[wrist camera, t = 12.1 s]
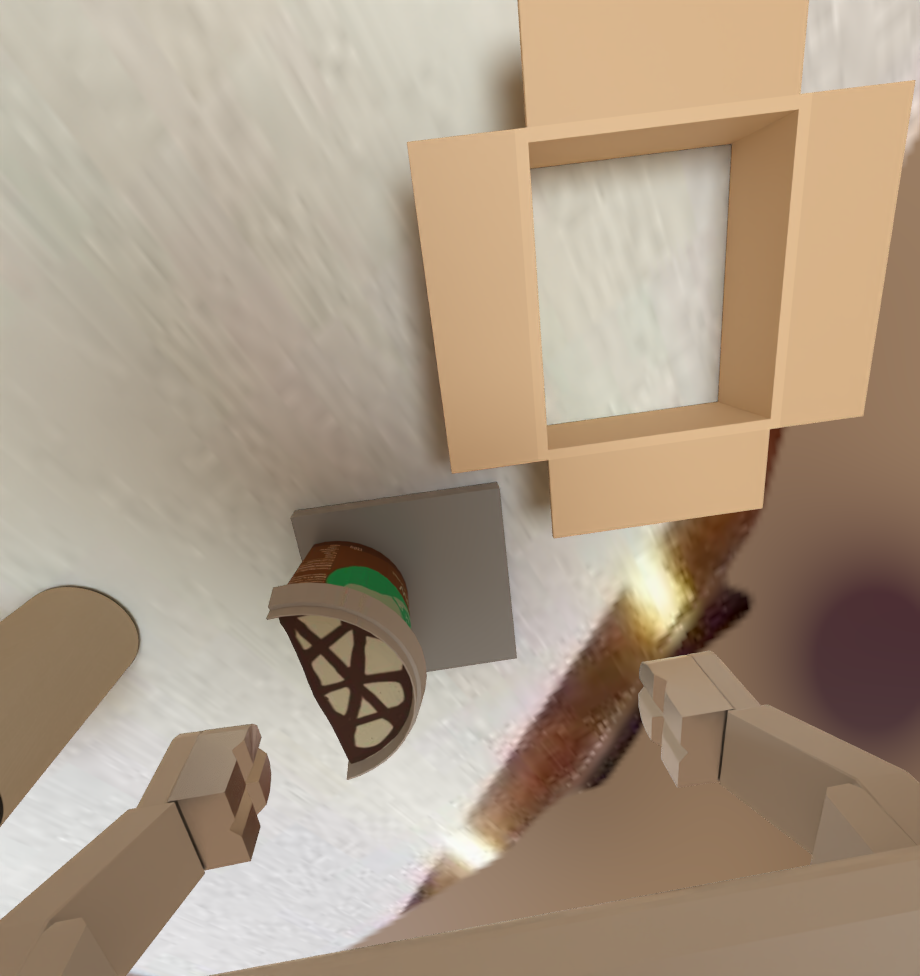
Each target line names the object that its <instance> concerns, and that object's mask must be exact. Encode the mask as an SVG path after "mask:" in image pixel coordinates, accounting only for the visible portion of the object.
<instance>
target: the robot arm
mask: <svg viewBox="0 0 920 976" xmlns="http://www.w3.org/2000/svg"><path fill="white" fill-rule="evenodd" d="M639 678H640V680H641V681H642V683H643V685H644V688H643V689H642V690H641V692H640V693H639V710H640V715H641V719H642V722H643V725H644V727H645V730H646V732H647V734H648V736H649V737H650V739H651V741H653V742H655V743H656V744H658V745H659V746H661V747H662V753H661V759H662V761H663V763H664V765H665V766H666V768H667V770H668V771H669V773H670V775H671V777H672V779H673V781H674V782H675V784H676V786H677V787H678V788H679V787H685V786H692V785H700V784H707V783H714V782H720V785H721V786H723V787H724V788H726V789H727V790H728V791H729V792H731V793H732V794H734V795H735V796H736V797H737V798H738V799H740V800H741V801H743V802H744V803H745V804H746V805H748V806H749V807H751V808H752V809H753V810H754V811H756V812H757V813H758V814H759V815H761V816H762V817H763V818H765V819H766V820H767V821H769V822H770V823H771V824H773V825H774V826H775V827H776V828H778V829H779V830H781V831H782V832H783V833H784V834H786V835H787V836H788V837H790V838H791V839H792V840H793V841H795V842H796V843H797V844H799V845H800V846H801V847H803V848H804V849H805V850H807V851H808V852H809V853H811V854H812V860H811V864H810V865H808V866H802V867H797V868H792V869H787V870H781V871H776V872H770V873H764V874H759V875H753V876H748V877H742V878H737V879H732V880H726V881H721V882H715V883H710V884H705V885H699V886H693V887H688V888H683V889H678V890H672V891H667V892H661V893H656V894H651V895H645V896H639V897H634V898H629V899H624V900H618V901H612V902H607V903H602V904H597V905H591V906H585V907H580V908H575V909H570V910H564V911H559V912H553V913H548V914H542V915H538V916H532V917H526V918H521V919H515V920H510V921H505V922H499V923H493V924H488V925H482V926H477V927H471V928H466V929H461V930H455V931H449V932H444V933H438V934H433V935H427V936H422V937H417V938H412V939H405V940H400V941H394V942H389V943H384V944H378V945H372V946H367V947H362V948H356V949H351V950H345V951H340V952H334V953H329V954H323V955H318V956H313V957H307V958H302V959H296V960H291V961H285V962H280V963H274V964H269V965H263V966H258V967H253V968H247V969H242V970H236V971H231V972H225V973H220V974H214V975H209V976H920V783H919V782H917V780H915V779H914V778H913V777H912V776H911V775H910V774H909V773H908V772H907V771H905V770H903V769H901V768H898V767H897V766H894V765H892V764H890V763H888V762H886V761H884V760H882V759H880V758H878V757H876V756H874V755H872V754H870V753H867V752H865V751H863V750H861V749H859V748H857V747H855V746H853V745H851V744H849V743H846V742H845V741H842V740H840V739H838V738H836V737H834V736H832V735H830V734H828V733H826V732H824V731H822V730H820V729H818V728H816V727H813V726H811V725H809V724H807V723H805V722H803V721H801V720H799V719H797V718H795V717H793V716H791V715H788V714H786V713H784V712H782V711H780V710H778V709H776V708H774V707H771V706H770V705H762V706H761V705H760V704H759V703H758V702H757V701H756V699H755V698H754V697H753V696H752V695H751V694H750V693H749V692H748V690H747V689H746V688H745V687H744V686H743V685H742V684H741V682H740V681H739V680H738V679H737V678H736V677H735V676H734V675H733V673H732V672H731V671H730V670H729V669H728V668H727V667H726V665H725V664H724V663H723V662H722V661H721V660H720V659H719V657H718V656H717V655H716V654H715V653H713V652H711V651H705V652H699V653H694V654H688V655H683V656H677V657H671V658H665V659H659V660H653V661H647V662H642V663H641V666H640V670H639ZM261 738H262V737H261V734H260V732H259V729H258V727H257V725H255V724H247V725H239V726H232V727H224V728H217V729H209V730H204V731H199V732H191V733H183V734H179V735H178V736H176V737H175V738H174V739H173V740H172V742H171V744H170V746H169V747H168V749H167V751H166V753H165V755H164V757H163V759H162V761H161V763H160V764H159V766H158V768H157V770H156V772H155V774H154V776H153V778H152V780H151V781H150V783H149V785H148V787H147V789H146V791H145V793H144V795H143V797H142V798H141V800H140V802H139V804H138V806H137V808H134V809H129V810H127V811H126V812H125V813H124V814H123V815H121V816H120V817H119V818H118V819H117V820H116V821H115V822H113V823H112V824H111V825H110V826H109V827H108V828H106V829H105V830H104V831H103V832H102V833H101V834H99V835H98V836H97V837H96V838H95V839H94V840H92V841H91V842H90V843H89V844H88V845H87V846H86V847H84V848H83V849H82V850H81V851H80V852H79V853H77V854H76V855H75V856H74V857H73V858H72V859H70V860H69V861H68V862H67V863H66V864H65V865H64V866H62V867H61V868H60V869H59V870H58V871H57V872H55V873H54V874H53V875H52V876H51V877H50V878H48V879H47V880H46V881H45V882H44V883H43V884H41V885H40V886H39V887H38V888H37V889H36V890H35V891H33V892H32V893H31V894H30V895H29V896H28V897H26V898H25V899H24V900H23V901H22V902H21V903H19V904H18V905H17V906H16V907H15V908H14V909H13V910H11V911H10V912H9V913H8V914H7V915H6V916H4V917H3V918H2V919H1V920H0V976H126V975H127V974H128V973H129V971H130V970H131V969H132V967H133V966H134V965H135V963H136V962H137V961H138V960H139V958H140V957H141V956H142V954H143V953H144V952H145V950H146V949H147V948H148V947H149V945H150V944H151V943H152V941H153V940H154V939H155V937H156V936H157V935H158V934H159V932H160V931H161V930H162V928H163V927H164V926H165V924H166V923H167V922H168V921H169V919H170V918H171V917H172V915H173V914H174V913H175V911H176V910H177V909H178V908H179V906H180V905H181V904H182V902H183V901H184V900H185V899H186V897H187V896H188V895H189V893H190V892H191V891H192V889H193V888H194V887H195V886H196V884H197V883H198V882H199V880H200V879H201V878H202V876H203V875H204V874H205V871H204V870H209V869H214V868H219V867H224V866H229V865H234V864H238V863H243V862H248V861H251V859H252V855H253V852H254V848H255V844H256V841H257V837H258V834H259V830H260V823H259V820H258V817H257V814H258V813H259V812H260V811H261V810H262V809H263V808H264V807H265V805H266V804H267V800H268V797H269V793H270V784H271V769H270V762H269V759H268V756H267V753H265V752H264V751H262V750H261V749H259V748H258V747H259V744H260V741H261Z"/></svg>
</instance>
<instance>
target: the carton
mask: <svg viewBox="0 0 920 976" xmlns="http://www.w3.org/2000/svg"><path fill="white" fill-rule="evenodd" d="M808 5H809V0H518V15H519V31H520V46H521V61H522V76H523V92H524V107H525V122H526V128H519V129H510V130H502V131H494V132H486V133H478V134H469V135H461V136H453V137H445V138H437V139H428V140H420V141H412V142H407V147H408V154H409V161H410V169H411V176H412V184H413V191H414V198H415V206H416V213H417V220H418V228H419V235H420V243H421V250H422V257H423V265H424V272H425V279H426V287H427V294H428V302H429V309H430V316H431V324H432V331H433V338H434V346H435V353H436V361H437V368H438V375H439V383H440V390H441V397H442V405H443V412H444V420H445V427H446V434H447V442H448V449H449V456H450V464H451V471H452V474H454V473H461V472H468V471H475V470H482V469H490V468H497V467H504V466H511V465H518V464H525V463H532V462H539V461H546V460H548V473H549V488H550V503H551V518H552V533H553V538H560V537H567V536H574V535H581V534H588V533H595V532H602V531H608V530H615V529H622V528H629V527H636V526H643V525H650V524H657V523H663V522H670V521H677V520H684V519H691V518H698V517H705V516H712V515H719V514H725V513H732V512H739V511H746V510H753V509H760V508H763V497H764V486H765V475H766V464H767V453H768V442H769V431H770V429H774V428H781V427H788V426H794V425H802V424H809V423H816V422H823V421H830V420H837V419H845V418H851V417H859V416H863V413H864V407H865V400H866V394H867V388H868V381H869V374H870V369H871V362H872V356H873V348H874V343H875V337H876V330H877V323H878V317H879V311H880V304H881V297H882V291H883V285H884V279H885V272H886V266H887V259H888V253H889V247H890V240H891V234H892V227H893V221H894V214H895V207H896V201H897V195H898V187H899V182H900V176H901V169H902V163H903V156H904V150H905V144H906V137H907V131H908V124H909V118H910V111H911V105H912V99H913V92H914V86H915V80H912V81H904V82H896V83H888V84H879V85H871V86H863V87H855V88H847V89H838V90H830V91H822V92H814V93H806V94H800V92H801V81H802V70H803V59H804V48H805V37H806V27H807V16H808ZM726 144H732V153H731V171H730V190H729V208H728V227H727V245H726V264H725V282H724V300H723V319H722V337H721V356H720V374H719V393H718V402H712V403H705V404H698V405H691V406H684V407H676V408H669V409H662V410H655V411H648V412H640V413H633V414H626V415H619V416H612V417H604V418H597V419H590V420H583V421H576V422H568V423H561V424H554V425H547V424H546V409H545V393H544V378H543V363H542V347H541V332H540V316H539V301H538V285H537V270H536V255H535V239H534V224H533V208H532V193H531V177H530V169H532V168H540V167H548V166H557V165H565V164H573V163H581V162H589V161H597V160H605V159H613V158H621V157H629V156H637V155H645V154H653V153H661V152H669V151H677V150H685V149H693V148H701V147H709V146H717V145H726Z"/></svg>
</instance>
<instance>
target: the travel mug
mask: <svg viewBox="0 0 920 976" xmlns="http://www.w3.org/2000/svg"><path fill="white" fill-rule="evenodd" d="M138 644H139V641H138V634H137V630H136V628H135V625H134V623H133V621H132V620H131V618H130V617H129V615H128V614H127V613H126V612H125V611H124V610H123V609H122V608H121V607H120V606H119V605H118V604H116V603H115V602H114V601H112V600H111V599H109V598H107V597H105V596H103V595H101V594H99V593H96V592H94V591H91V590H87V589H83V588H76V587H59V588H53V589H49V590H46V591H43V592H41V593H39V594H37V595H36V596H34V597H33V598H31V599H30V600H29V601H27V602H26V603H25V604H23V605H22V606H21V607H20V608H18V609H17V610H16V611H14V612H13V613H12V614H10V615H9V616H8V617H6V618H5V619H4V620H2V621H1V622H0V827H1V825H2V824H3V823H4V822H5V820H6V819H7V818H8V817H9V815H10V814H11V813H12V812H13V810H14V809H15V808H16V807H17V805H18V804H19V803H20V802H21V800H22V799H23V798H24V797H25V795H26V794H27V793H28V792H29V790H30V789H31V788H32V787H33V785H34V784H35V783H36V782H37V780H38V779H39V778H40V777H41V775H42V774H43V773H44V772H45V770H46V769H47V768H48V767H49V765H50V764H51V763H52V762H53V760H54V759H55V758H56V757H57V755H58V754H59V753H60V752H61V750H62V749H63V748H64V747H65V746H66V744H67V743H68V742H69V741H70V739H71V738H72V737H73V736H74V734H75V733H76V732H77V731H78V729H79V728H80V727H81V726H82V724H83V723H84V722H85V721H86V719H87V718H88V717H89V716H90V714H91V713H92V712H93V711H94V709H95V708H96V707H97V706H98V704H99V703H100V702H101V701H102V699H103V698H104V697H105V696H106V694H107V693H108V692H109V691H110V689H111V688H112V687H113V686H114V684H115V683H116V682H117V681H118V679H119V678H120V677H121V676H122V674H123V673H124V672H125V671H126V669H127V668H128V667H129V666H130V664H131V663H132V662H133V660H134V659H135V657H136V654H137V651H138Z"/></svg>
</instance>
